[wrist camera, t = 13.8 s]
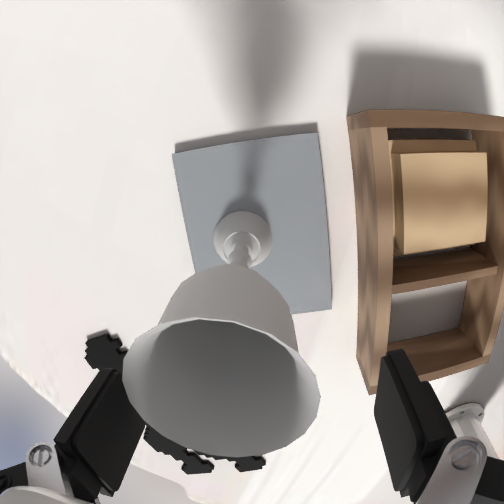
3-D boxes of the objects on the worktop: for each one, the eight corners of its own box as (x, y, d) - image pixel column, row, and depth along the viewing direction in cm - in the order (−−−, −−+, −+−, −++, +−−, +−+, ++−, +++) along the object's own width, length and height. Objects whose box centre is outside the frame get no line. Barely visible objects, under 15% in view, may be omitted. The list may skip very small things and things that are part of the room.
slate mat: (330, 305, 29) (331, 309, 29) (208, 317, 30) (207, 322, 30) (315, 132, 24) (317, 132, 23) (174, 153, 25) (171, 154, 24)
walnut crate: (464, 333, 30) (487, 362, 24) (356, 357, 31) (368, 395, 26) (478, 118, 22) (516, 118, 16) (346, 116, 23) (367, 109, 18)
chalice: (188, 218, 26) (84, 351, 9) (261, 184, 25) (269, 280, 8) (226, 290, 28) (193, 466, 11) (296, 261, 27) (342, 431, 10)
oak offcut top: (473, 234, 24) (485, 241, 22) (395, 246, 25) (403, 254, 23) (473, 151, 22) (486, 152, 20) (390, 152, 22) (400, 154, 20)
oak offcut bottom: (462, 236, 27) (475, 244, 24) (379, 248, 28) (388, 257, 25) (461, 139, 23) (476, 140, 21) (372, 140, 24) (382, 140, 22)
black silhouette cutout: (267, 463, 40) (159, 314, 31) (267, 467, 39) (156, 319, 30) (182, 473, 43) (66, 346, 34) (181, 477, 42) (63, 350, 33)
